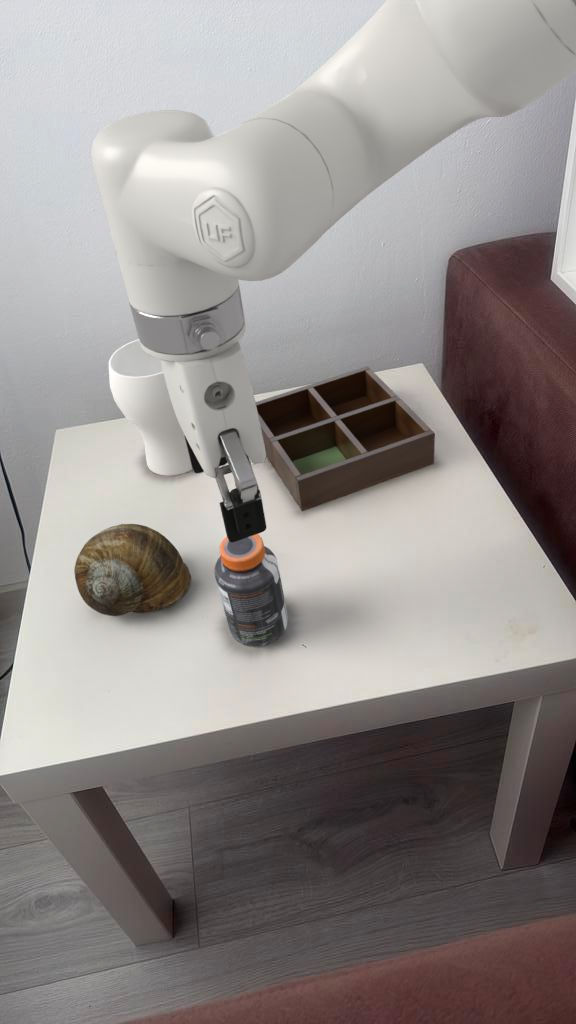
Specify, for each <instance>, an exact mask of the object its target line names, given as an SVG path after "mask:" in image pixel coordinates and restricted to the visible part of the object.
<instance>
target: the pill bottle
mask: <svg viewBox="0 0 576 1024" xmlns="http://www.w3.org/2000/svg"><path fill="white" fill-rule="evenodd" d="M219 554H220V556H219V557H218V558H217V560H216V562H215V565H214V577H215V581H216V584H217V588H218V592H219V596H220V600H221V603H222V606H223V611H224V614H225V618H226V622H227V625H228V628H229V632H230V634H231V637H233V639H234V640H235V641H236V642H238V643H240V644H241V645H244V646H248V647H255V648H256V647H257V648H258V647H264V646H268V645H269V644H272V643H273V642H276V641H277V640H278V639H280V638H281V637H282V635H284V633H285V632H286V629H287V627H288V624H289V617H288V616H289V615H288V610H287V606H286V605H287V604H286V601H285V594H284V589H283V585H282V578H281V573H280V568H279V563H278V559H277V557H276V554H275V553H274V552H273V551H272V550H271V549H270V548H269V547H268V546H265V545H264V540H263V538H262V537H261V535H260V534H256V535H253V536H250V537H247V538H244V539H242V540H239V541H236V542H230V541H229V540H228V538H227V536H225V537H224V538H223V539H222V541H221V543H220V545H219Z"/></svg>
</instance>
